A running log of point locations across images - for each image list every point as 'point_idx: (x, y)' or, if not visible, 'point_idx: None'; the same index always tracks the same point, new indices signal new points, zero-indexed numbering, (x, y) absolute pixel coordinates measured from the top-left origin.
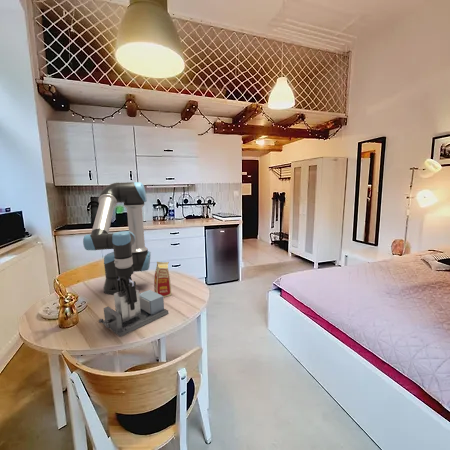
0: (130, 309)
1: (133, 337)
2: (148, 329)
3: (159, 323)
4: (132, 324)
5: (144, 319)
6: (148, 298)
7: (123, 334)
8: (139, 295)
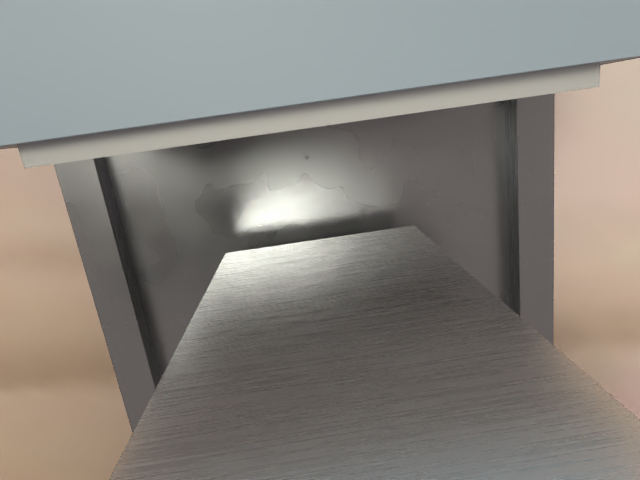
0: None
1: (633, 386)
2: (636, 226)
3: (636, 68)
4: None
5: (541, 226)
6: (470, 13)
7: None
8: (61, 135)
